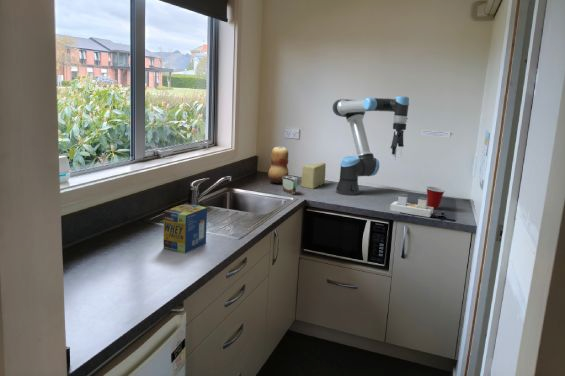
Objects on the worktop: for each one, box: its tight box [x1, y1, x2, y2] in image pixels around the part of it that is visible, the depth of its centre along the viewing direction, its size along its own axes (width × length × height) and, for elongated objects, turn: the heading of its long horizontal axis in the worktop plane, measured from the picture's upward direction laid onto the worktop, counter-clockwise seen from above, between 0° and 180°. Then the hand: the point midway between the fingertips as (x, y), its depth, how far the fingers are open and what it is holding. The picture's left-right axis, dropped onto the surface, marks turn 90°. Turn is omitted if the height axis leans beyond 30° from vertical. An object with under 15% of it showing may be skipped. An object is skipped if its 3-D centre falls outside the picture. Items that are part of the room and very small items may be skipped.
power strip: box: [389, 200, 447, 219], centre depth 263 cm, size 30×10×4 cm, turn 63°
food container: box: [282, 175, 299, 196], centre depth 293 cm, size 12×6×10 cm, turn 37°
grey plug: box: [397, 193, 408, 206], centre depth 267 cm, size 4×4×9 cm
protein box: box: [163, 203, 208, 254], centre depth 188 cm, size 10×15×16 cm
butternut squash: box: [267, 146, 289, 184], centre depth 318 cm, size 14×13×25 cm
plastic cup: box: [425, 186, 446, 210], centre depth 276 cm, size 11×11×12 cm
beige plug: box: [417, 196, 428, 209], centre depth 262 cm, size 4×4×9 cm
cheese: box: [300, 162, 326, 190], centre depth 319 cm, size 22×10×15 cm, turn 144°
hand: (395, 158), depth 281 cm, fingers open, 13 cm apart
